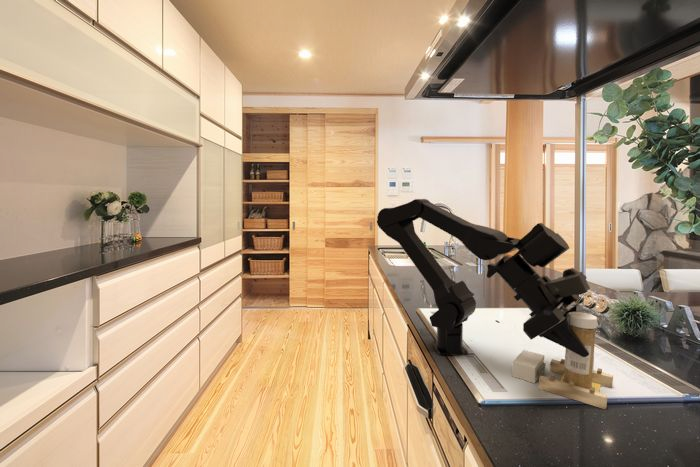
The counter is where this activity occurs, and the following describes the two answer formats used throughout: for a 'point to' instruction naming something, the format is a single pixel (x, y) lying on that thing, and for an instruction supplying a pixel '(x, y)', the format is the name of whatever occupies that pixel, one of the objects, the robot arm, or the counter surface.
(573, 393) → the guide channel
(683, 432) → the counter surface
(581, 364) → the sprinkles bottle
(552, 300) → the robot arm
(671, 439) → the counter surface
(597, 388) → the band
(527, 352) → the block
